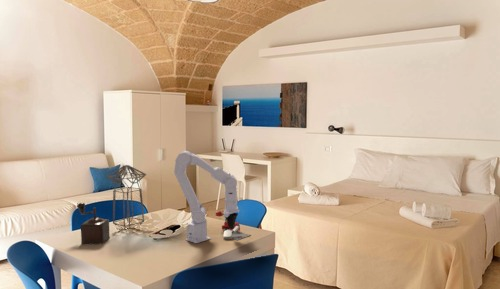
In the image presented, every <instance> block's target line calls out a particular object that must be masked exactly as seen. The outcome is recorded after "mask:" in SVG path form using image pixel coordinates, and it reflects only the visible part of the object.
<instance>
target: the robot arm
mask: <svg viewBox="0 0 500 289" xmlns="http://www.w3.org/2000/svg"><path fill="white" fill-rule="evenodd" d="M189 164H190V166H192V165H193V166H198V167H199V168H201V169H203V170H204V171H206V172H208V173H210V176H211V178H213V179H214V180H216V181H217V182H219V183H220V184H222V185H224V187H225V192H224V200H225V201H224V203H225V204H224V205H225V207H224V215H223V218H225V221H226V220H227V223H228V226H229V228H230V229H233V228H234V225H235V222H236V220H237V217H238V215H239V212H240V209H239V206H238V191H237V189H238V188H237V186H238V179H237V178H236V177H235V176H234V175H233V174H232V175H231V173H228V172H226V171H225V170H224V169H223V168H222V167H219V166H217V167H214V166H213V165H211V164H210V163H209V162H207V161H205V160H204V159H203V158H201V157H200V156H199V155H196V153H192V152H191V151H189V150H183V151H182V152H180V153H178V155H177V157H176V158H175V164H174V170H173V172H174V176H175V178H176V179H177V182H178V184H179V187H180V188H181V191H182V193H183V194H184V197H185V199H186V202H187V203H188V205H189V210H190V213H191V222H190V223H189V224H187V226H186V238H185V241H188V242H190V243H194V244H198V243H202V242H206V241H208V240H211V237H209V236H208V231H207V230H208V228H207V225H208V224H207V223H208V222H207V221H208V220H207V218H206V215H207V209H206V208H205V207H204V206H203V205H202V203H201V202H200V200H199V199H198V196H197V194H196V193H195V190H194V188H193V186H192V184H191V182H190V179H189V178H188V175H187V173H186V170H187V168H188V166H189Z"/></svg>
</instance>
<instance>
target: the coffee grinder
mask: <svg viewBox="0 0 500 289" xmlns="http://www.w3.org/2000/svg"><path fill="white" fill-rule="evenodd" d="M76 207H77V209H78V210H79V213H80V215H90V214H93V217H91V218H90V219H88V220H86V221H84V222H83V223H82V224H80V237H81V238H80V239H81V242H80V243H81V245H100V244H101V245H103V244H104V243H105V242H106V241H108V240H109V239H110V237H111V236H110V219H109V218H108V219H106V218H105V219H104V218H101V217H99V215H97V213H96V212H97V210H96V209H97V208H96V207H93V208H92V209H93V210H92V211H87V212H86V209H85V207H86V203H84V202H80V203H78V204H76Z"/></svg>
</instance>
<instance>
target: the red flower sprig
mask: <svg viewBox="0 0 500 289" xmlns="http://www.w3.org/2000/svg"><path fill="white" fill-rule="evenodd" d="M224 213H225V210H221V211H217V212H215V216H216V217H222V216H223V217H224ZM223 223H224V224H223V225H221V230H224V231H226V230H230V231H232V230H233V229H234V228H235V227H236V226H239V230H238V232H241V231H240V230H241V226H240V225H241V224H240V223H239V222H237V221H235V225H234V228H233V229H230V228H229V226H228V223H227V220H226V219H225V221H224V222H223Z"/></svg>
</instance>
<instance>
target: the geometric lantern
mask: <svg viewBox="0 0 500 289" xmlns="http://www.w3.org/2000/svg"><path fill="white" fill-rule="evenodd" d="M115 173H116V174H115ZM114 174H115V175H114ZM128 174H129V175H130V177H127V175H128ZM146 176H147V173H145V172H143V171H142V170H141V171H140V170H139V169H137V168H135V167H133V166H131V165H129V164H124V165H123V166H121V167H119V168H118V169H116V170H115V171H113V172H111V173H109V174H108V175H106V178H108V179H109V180H110V181H111V182H112V183H113V185H114V189H113V191H112V192H113V194H112V195H113V199H112V200H113V201H112V211H113V212H112V224H113V225H115V226H116V225H118V226H121V227H123V228H127V227H129V228H130V227H133V226H134V225H135V224H138V225H139V224H140V226H141V225H142V224H143V223H145V218H144V216H145V215H144V203H143V192H142V189H143V188H142V184H141V180H142V179H143V178H145V177H146ZM130 179H131V180H132V181H131V180H130ZM124 180H127V181H129V182H130V183H131V186H130V187H129V186H128V184H127V183H126V182H125V181H124ZM121 182H124V184H125V185H126V187H121V185H120V183H121ZM134 184H137V186H138V188H137V187H133V185H134ZM117 185H118V187H119V188H118V189H116V188H117ZM123 189H125V190H126V189H127V191H126V192H125V191H124V190H123ZM134 189H136V190H134ZM132 190H133V191H132ZM133 192H139V199H140V207H141V215H142V218H137V217H134V208H133V207H134V206H133ZM116 193H121V194H122V196H123V198H122V201H123V202H122V204H123V206H122V207H123V218H122V219H121V218H120V219H118V220H115V216H116V213H115V212H116ZM129 193H130V199H131V200H130V202H131V215H130V206H129ZM125 194H126V200H127V202H126V206H127V207H126V206H125ZM125 207H126V208H125ZM125 209H126V210H125ZM125 211H126V214H125ZM125 216H126V217H125ZM130 216H131V217H130ZM133 219H134V220H138V221H139V222H135V223H132V221H133ZM126 220H127V222H128V223H129V224H128V225H125V224H126V222H125V221H126ZM121 221H123V224H120V223H117V222H121ZM130 222H131V224H130ZM135 226H136V225H135ZM129 228H128V229H129ZM123 231H124V230H120V232H121V233H124V232H123Z"/></svg>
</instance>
